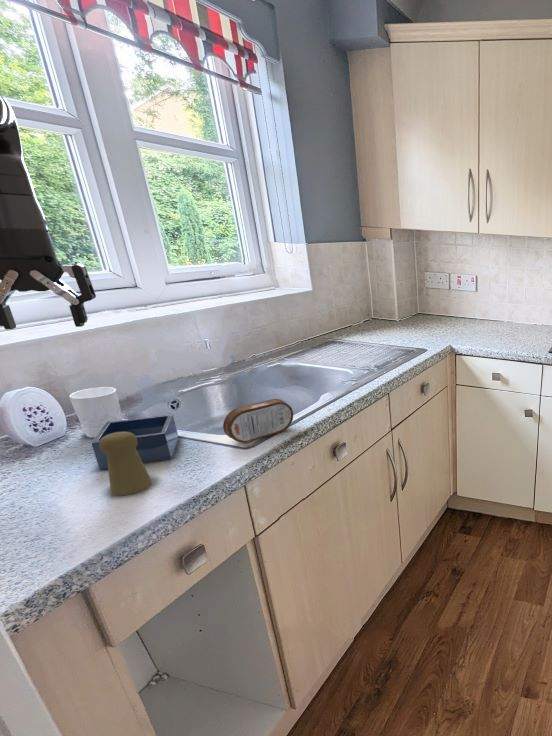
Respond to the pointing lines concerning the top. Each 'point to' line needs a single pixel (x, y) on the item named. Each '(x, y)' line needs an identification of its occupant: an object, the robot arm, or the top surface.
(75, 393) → the white cup
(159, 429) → the holder
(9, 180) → the robot arm
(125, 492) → the cork
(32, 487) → the top surface
